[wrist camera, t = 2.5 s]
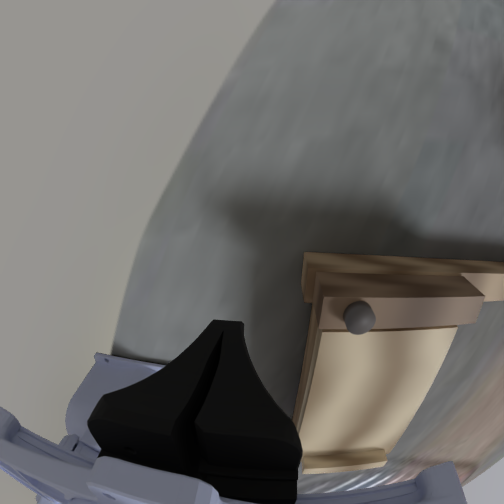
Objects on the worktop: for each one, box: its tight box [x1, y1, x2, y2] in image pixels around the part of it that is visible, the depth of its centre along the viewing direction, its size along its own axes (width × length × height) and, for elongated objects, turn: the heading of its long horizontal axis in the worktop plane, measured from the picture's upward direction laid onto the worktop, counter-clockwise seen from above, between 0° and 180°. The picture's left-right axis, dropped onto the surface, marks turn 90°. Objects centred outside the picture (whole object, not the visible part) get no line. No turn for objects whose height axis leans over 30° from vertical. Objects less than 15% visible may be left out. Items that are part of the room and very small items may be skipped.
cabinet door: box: [313, 272, 485, 335], centre depth 16 cm, size 11×2×4 cm, turn 89°
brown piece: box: [292, 252, 504, 429], centre depth 21 cm, size 24×19×3 cm
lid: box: [297, 325, 458, 474], centre depth 19 cm, size 10×16×3 cm, turn 179°
